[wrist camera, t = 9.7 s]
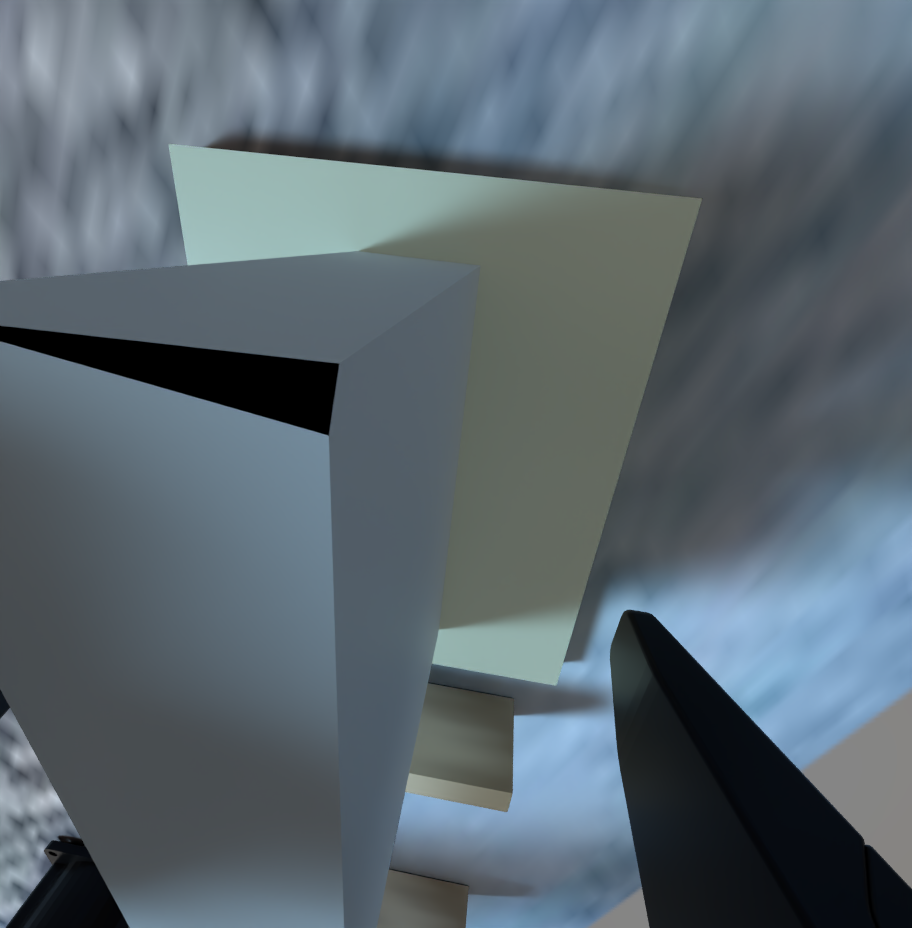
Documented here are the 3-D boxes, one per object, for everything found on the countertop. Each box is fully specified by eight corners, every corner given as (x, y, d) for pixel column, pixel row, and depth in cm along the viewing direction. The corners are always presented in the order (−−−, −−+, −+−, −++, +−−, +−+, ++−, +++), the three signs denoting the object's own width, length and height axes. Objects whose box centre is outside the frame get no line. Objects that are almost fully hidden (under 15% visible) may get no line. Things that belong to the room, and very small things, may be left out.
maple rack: (179, 834, 24) (136, 910, 21) (107, 625, 17) (28, 698, 14) (466, 895, 22) (459, 984, 20) (513, 698, 16) (512, 793, 13)
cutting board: (257, 612, 15) (245, 630, 15) (194, 150, 9) (168, 144, 9) (554, 664, 15) (556, 685, 14) (687, 201, 9) (702, 198, 8)
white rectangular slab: (357, 615, 14) (180, 1022, 7) (357, 251, 9) (-213, 299, 2) (438, 629, 14) (348, 1062, 6) (480, 265, 9) (327, 371, 2)
